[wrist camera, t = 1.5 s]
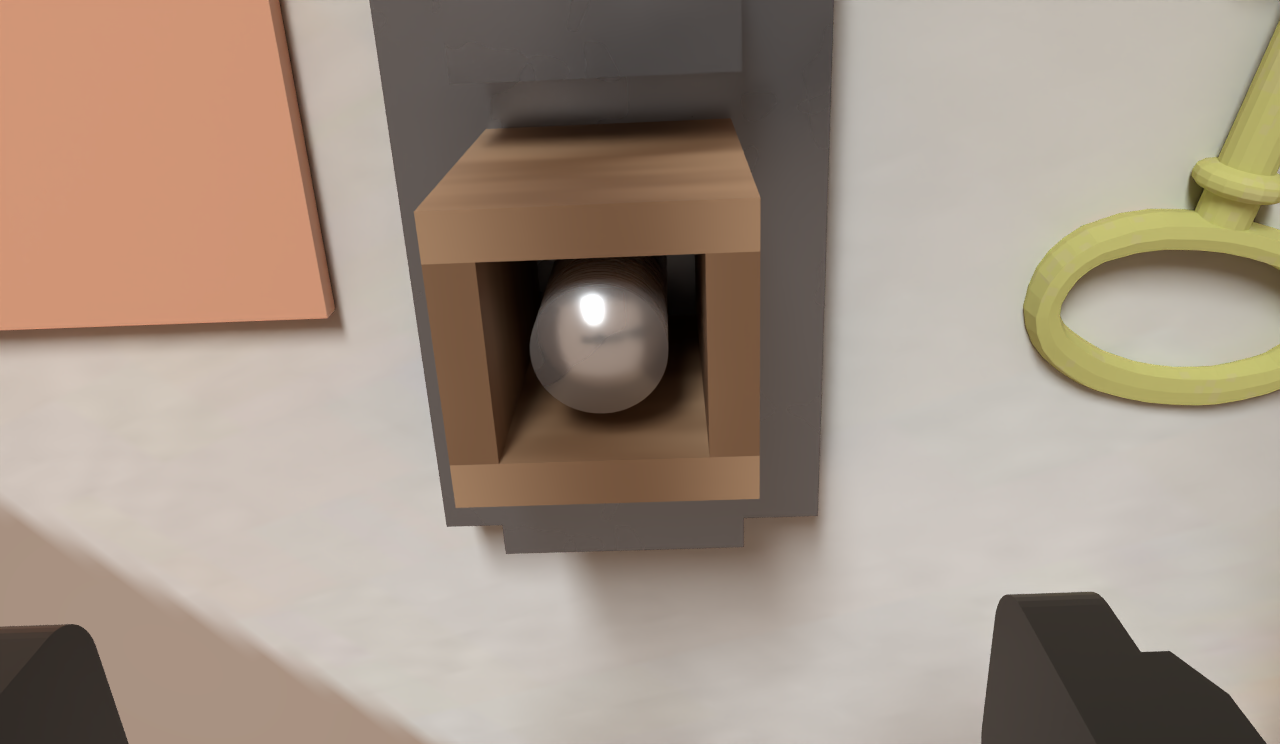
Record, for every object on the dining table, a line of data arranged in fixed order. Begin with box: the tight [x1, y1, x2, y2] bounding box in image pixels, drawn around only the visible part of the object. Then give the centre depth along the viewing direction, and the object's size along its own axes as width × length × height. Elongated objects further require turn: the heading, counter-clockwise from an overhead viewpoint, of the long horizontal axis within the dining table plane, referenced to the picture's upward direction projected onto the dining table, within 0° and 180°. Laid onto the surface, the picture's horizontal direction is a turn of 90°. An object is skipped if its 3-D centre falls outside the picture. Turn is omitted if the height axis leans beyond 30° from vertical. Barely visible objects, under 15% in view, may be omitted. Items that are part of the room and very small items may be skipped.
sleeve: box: [414, 118, 761, 508], centre depth 18 cm, size 5×5×6 cm
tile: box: [0, 0, 335, 330], centre depth 22 cm, size 9×9×1 cm
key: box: [1023, 20, 1280, 405], centre depth 22 cm, size 7×12×2 cm, turn 10°
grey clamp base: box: [369, 0, 834, 554], centre depth 19 cm, size 9×14×8 cm, turn 3°
